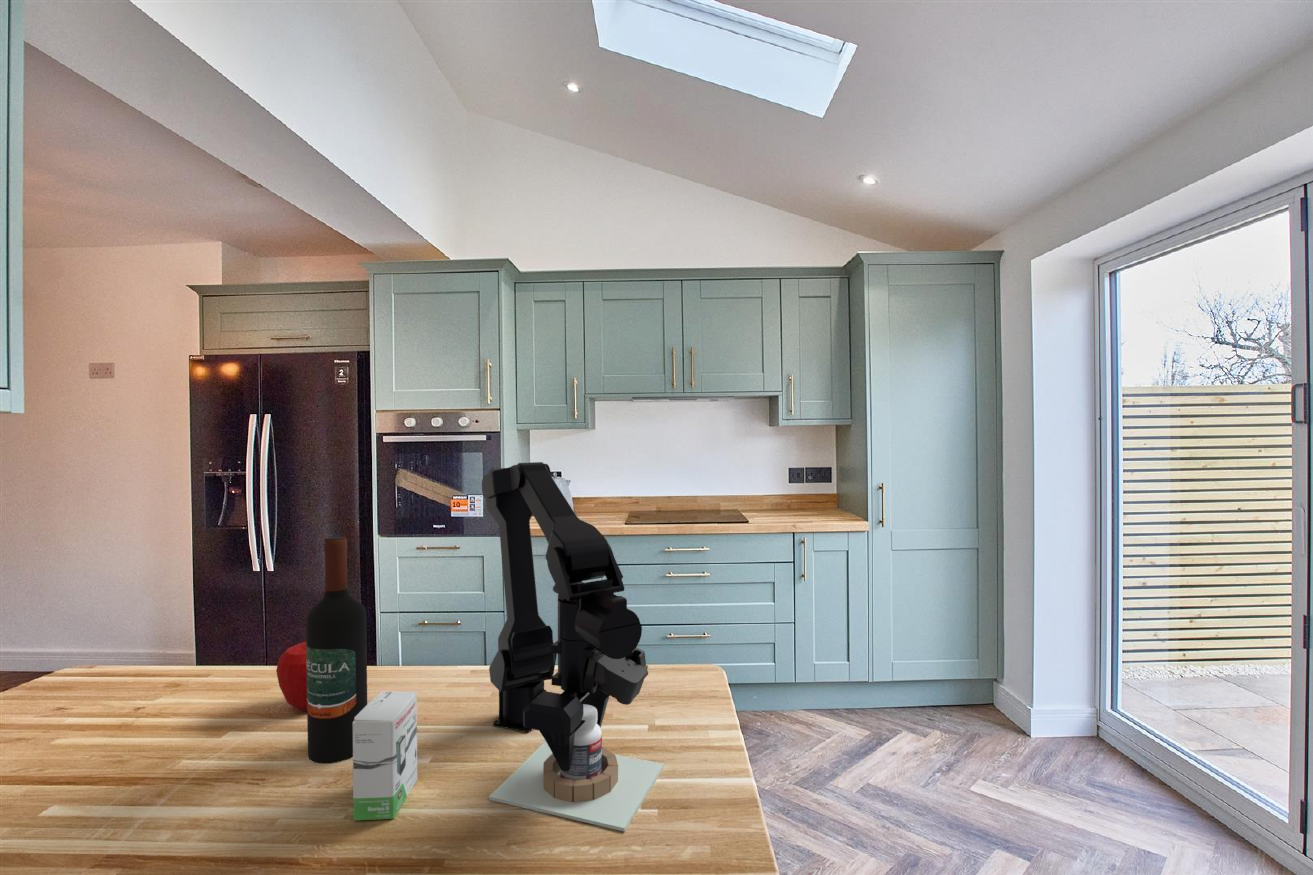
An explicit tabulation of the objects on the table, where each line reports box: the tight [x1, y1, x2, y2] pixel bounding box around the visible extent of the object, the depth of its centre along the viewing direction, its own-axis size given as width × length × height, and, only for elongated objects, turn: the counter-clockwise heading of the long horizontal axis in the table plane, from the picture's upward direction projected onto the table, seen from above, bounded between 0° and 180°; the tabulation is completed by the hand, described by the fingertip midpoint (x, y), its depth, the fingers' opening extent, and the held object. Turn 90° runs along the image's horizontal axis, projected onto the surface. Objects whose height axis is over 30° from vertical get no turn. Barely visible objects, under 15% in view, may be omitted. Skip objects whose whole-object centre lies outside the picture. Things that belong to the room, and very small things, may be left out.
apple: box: [275, 641, 307, 712], centre depth 102 cm, size 10×10×11 cm
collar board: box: [488, 740, 665, 832], centre depth 80 cm, size 18×14×2 cm
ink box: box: [352, 690, 418, 821], centre depth 77 cm, size 9×5×12 cm, turn 2°
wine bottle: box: [305, 536, 368, 765], centre depth 88 cm, size 8×8×30 cm
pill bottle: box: [560, 704, 603, 780], centre depth 80 cm, size 5×5×9 cm
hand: (580, 753), depth 80 cm, fingers open, 8 cm apart
